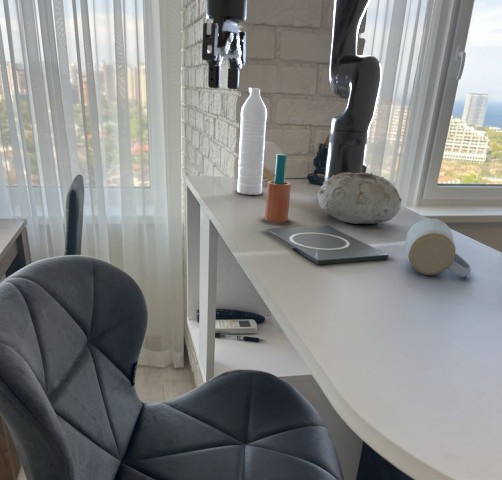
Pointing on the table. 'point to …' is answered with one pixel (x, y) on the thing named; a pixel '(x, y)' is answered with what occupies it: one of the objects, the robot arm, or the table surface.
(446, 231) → the ceramic mug
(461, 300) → the table surface
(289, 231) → the slate board
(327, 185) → the grey rounded lump
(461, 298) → the table surface
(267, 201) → the pen cup
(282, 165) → the marker
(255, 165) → the water bottle
